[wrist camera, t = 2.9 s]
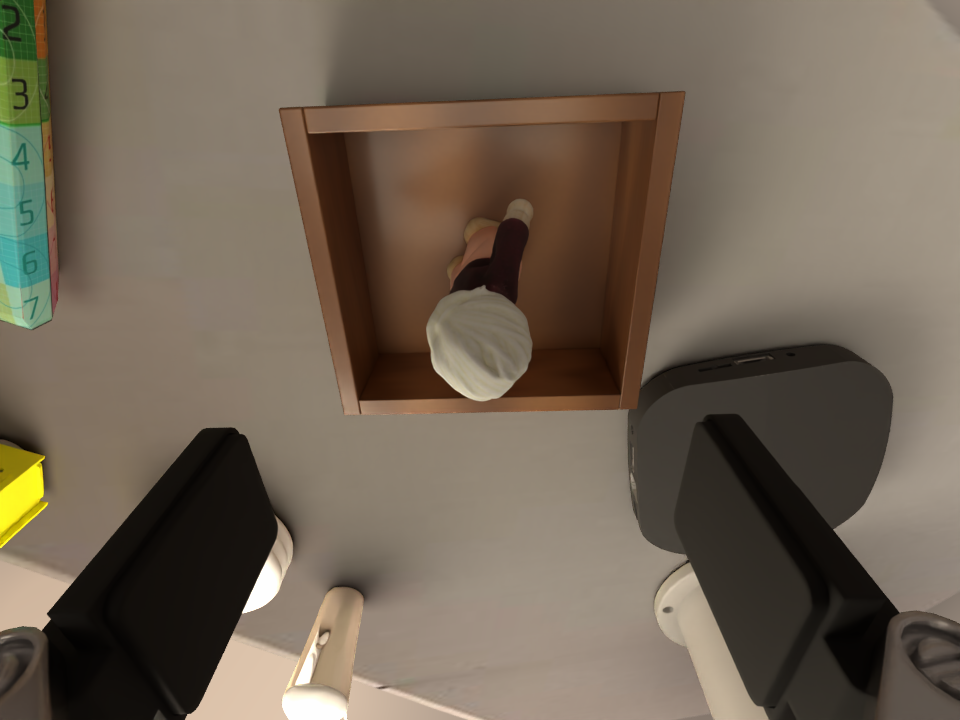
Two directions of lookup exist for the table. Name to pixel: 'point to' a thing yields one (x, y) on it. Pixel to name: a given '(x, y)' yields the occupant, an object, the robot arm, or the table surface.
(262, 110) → the table surface
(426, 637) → the table surface
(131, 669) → the robot arm
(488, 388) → the grandmother figurine
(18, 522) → the yellow toy chassis
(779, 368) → the media streaming box
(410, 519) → the table surface
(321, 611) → the milkshake
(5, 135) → the puzzle game
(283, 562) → the white short cylinder
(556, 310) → the crate
